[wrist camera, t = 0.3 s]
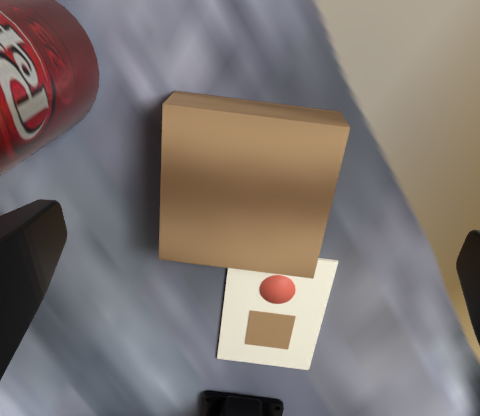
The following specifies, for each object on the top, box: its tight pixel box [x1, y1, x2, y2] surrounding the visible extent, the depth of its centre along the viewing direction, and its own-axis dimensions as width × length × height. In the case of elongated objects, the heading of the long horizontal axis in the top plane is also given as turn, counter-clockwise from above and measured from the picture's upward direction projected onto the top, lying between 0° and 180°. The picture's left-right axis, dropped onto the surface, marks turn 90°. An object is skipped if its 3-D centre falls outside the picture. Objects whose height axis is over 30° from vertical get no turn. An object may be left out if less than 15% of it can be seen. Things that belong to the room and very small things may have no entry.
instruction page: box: [217, 258, 338, 370], centre depth 29 cm, size 10×7×1 cm
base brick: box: [159, 91, 350, 279], centre depth 23 cm, size 9×9×3 cm
